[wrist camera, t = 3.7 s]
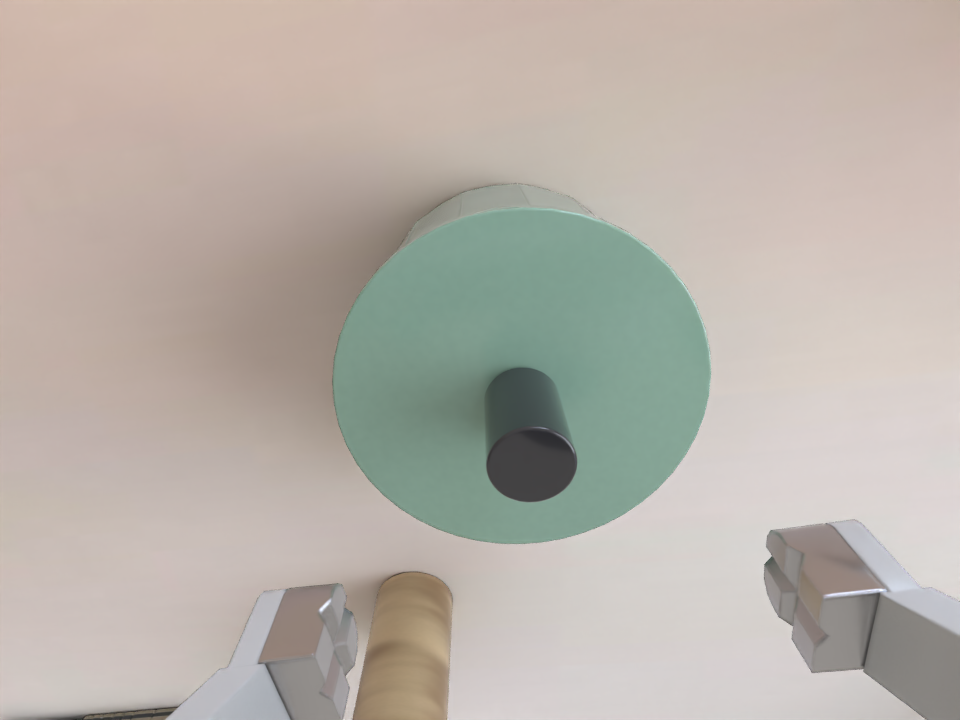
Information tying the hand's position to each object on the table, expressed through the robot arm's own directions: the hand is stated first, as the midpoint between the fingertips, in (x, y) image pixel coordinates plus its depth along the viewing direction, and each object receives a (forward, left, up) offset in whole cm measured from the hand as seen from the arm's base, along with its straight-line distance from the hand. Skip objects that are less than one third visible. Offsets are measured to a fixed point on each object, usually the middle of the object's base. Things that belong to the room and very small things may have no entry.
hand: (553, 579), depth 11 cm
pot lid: (0, 0, -8) cm, 8 cm away
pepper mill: (-17, +8, -16) cm, 24 cm away
